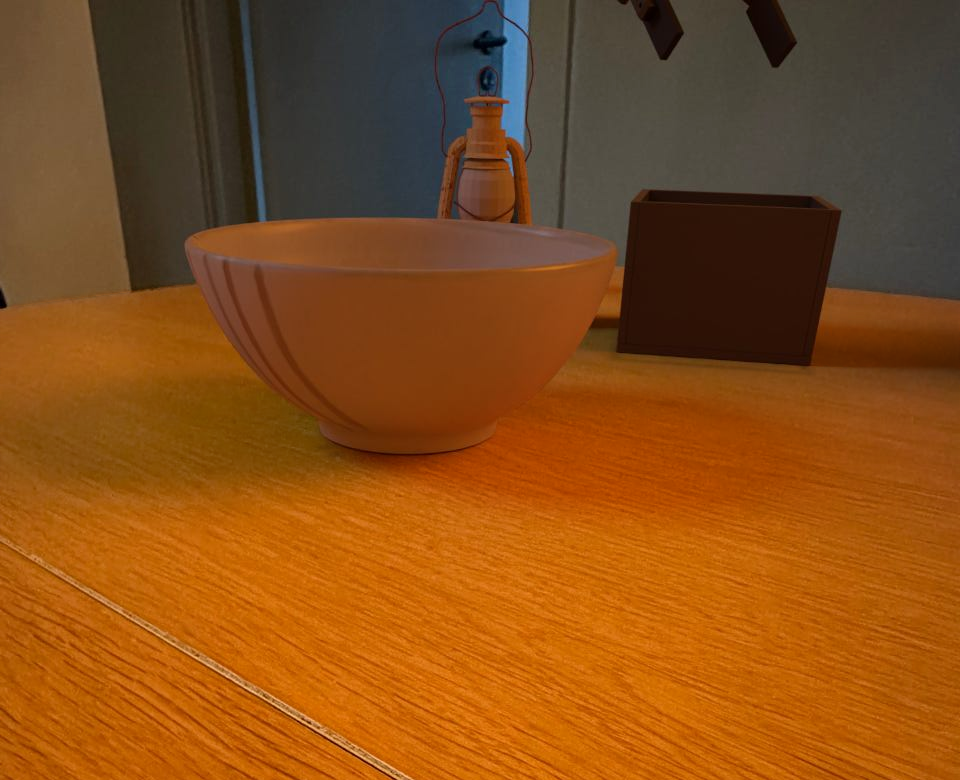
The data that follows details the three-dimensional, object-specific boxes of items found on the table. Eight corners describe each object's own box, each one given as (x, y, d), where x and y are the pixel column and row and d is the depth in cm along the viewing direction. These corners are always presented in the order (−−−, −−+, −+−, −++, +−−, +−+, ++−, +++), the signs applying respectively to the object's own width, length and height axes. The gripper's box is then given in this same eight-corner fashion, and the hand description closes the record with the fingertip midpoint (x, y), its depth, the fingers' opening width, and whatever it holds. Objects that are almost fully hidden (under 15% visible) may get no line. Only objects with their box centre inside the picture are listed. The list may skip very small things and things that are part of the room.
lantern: (437, 296, 108) (436, -9, 93) (433, 283, 117) (432, 2, 102) (535, 297, 109) (550, -4, 94) (524, 284, 118) (536, 6, 103)
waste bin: (793, 328, 96) (818, 195, 90) (810, 365, 81) (842, 210, 75) (629, 317, 99) (642, 189, 93) (616, 352, 84) (630, 201, 78)
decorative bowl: (137, 478, 53) (97, 257, 47) (286, 370, 76) (272, 211, 69) (594, 512, 50) (616, 280, 44) (604, 388, 73) (620, 225, 67)
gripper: (718, -78, 93) (800, 91, 89) (514, -111, 82) (597, 80, 78) (766, -156, 86) (855, 23, 82) (550, -204, 75) (643, 1, 71)
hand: (730, 51), depth 80 cm, fingers open, 13 cm apart
